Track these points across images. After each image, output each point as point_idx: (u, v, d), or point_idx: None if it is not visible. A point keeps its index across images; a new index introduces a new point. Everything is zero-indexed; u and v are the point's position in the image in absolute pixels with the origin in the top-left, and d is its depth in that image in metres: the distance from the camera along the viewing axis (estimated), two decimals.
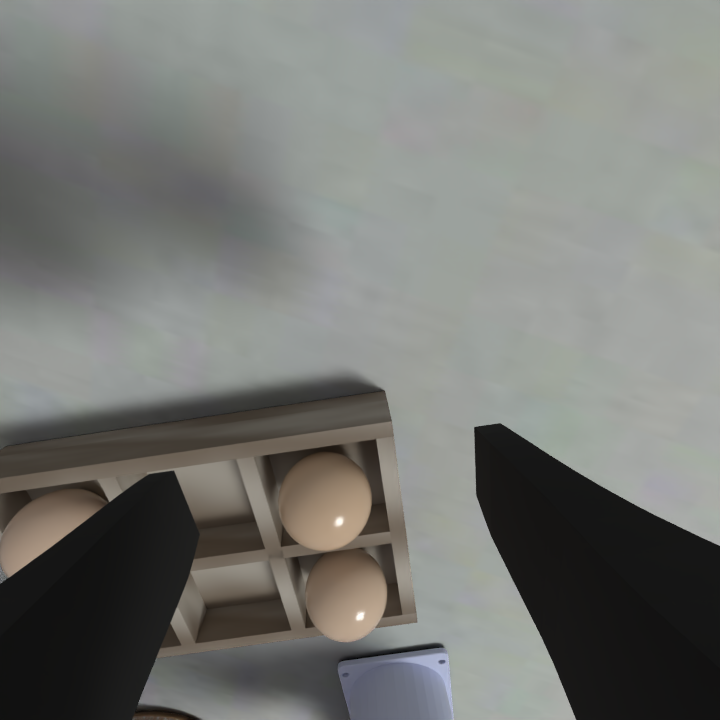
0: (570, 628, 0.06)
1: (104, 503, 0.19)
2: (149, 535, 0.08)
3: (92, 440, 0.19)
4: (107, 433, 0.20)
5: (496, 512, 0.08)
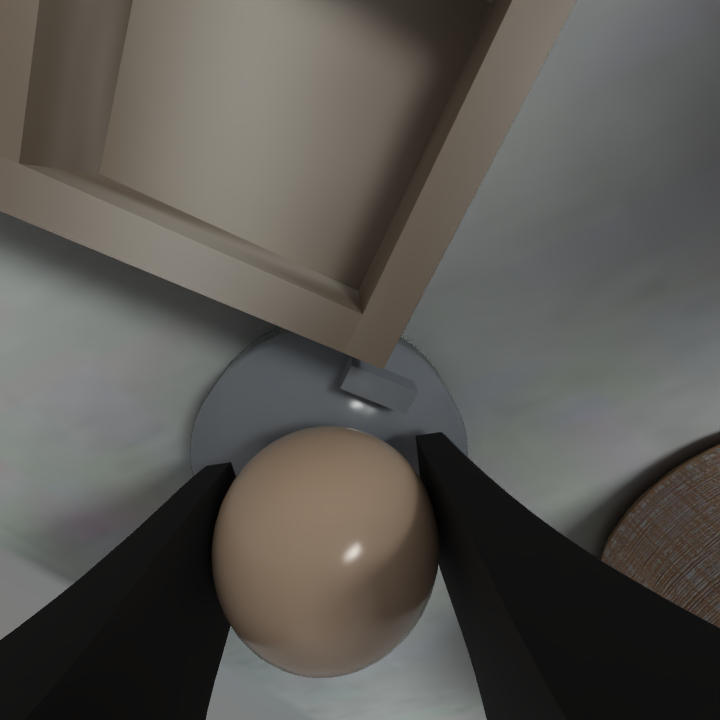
0: (480, 640, 0.06)
1: None
2: None
3: None
4: None
5: None
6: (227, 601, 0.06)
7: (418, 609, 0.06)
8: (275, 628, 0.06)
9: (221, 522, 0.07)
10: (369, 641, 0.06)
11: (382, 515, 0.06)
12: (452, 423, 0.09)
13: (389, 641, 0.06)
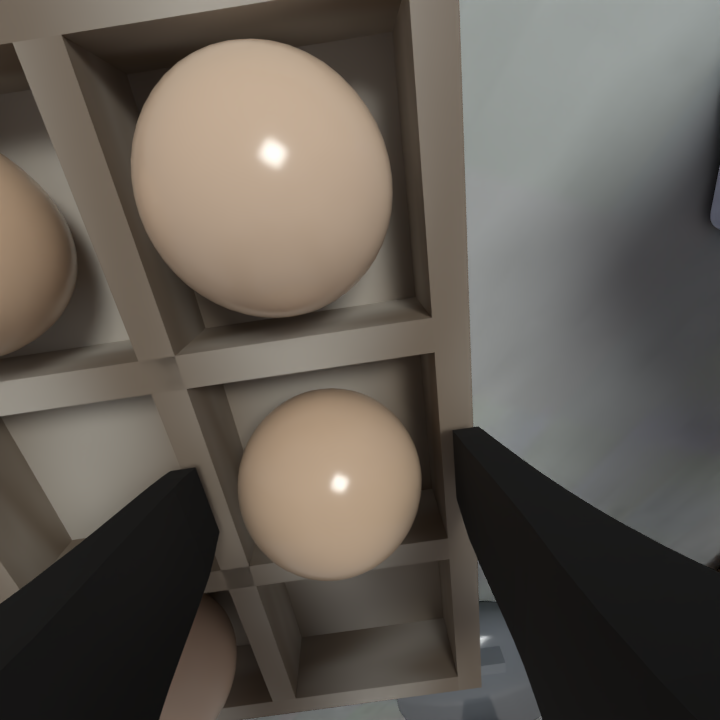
0: (536, 633, 0.06)
1: None
2: (174, 531, 0.08)
3: None
4: None
5: (472, 515, 0.08)
6: (252, 518, 0.08)
7: (403, 524, 0.08)
8: (291, 533, 0.07)
9: (245, 460, 0.08)
10: (363, 543, 0.07)
11: (372, 448, 0.08)
12: None
13: (380, 546, 0.08)
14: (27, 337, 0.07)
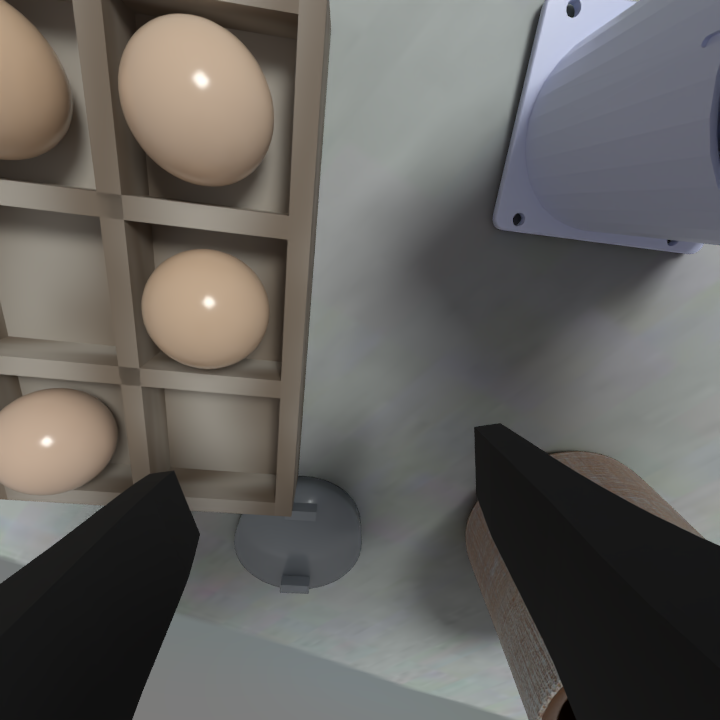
0: (570, 628, 0.06)
1: None
2: (149, 535, 0.08)
3: None
4: None
5: (496, 512, 0.08)
6: (147, 303, 0.12)
7: (241, 332, 0.13)
8: (168, 310, 0.12)
9: (152, 273, 0.13)
10: (212, 330, 0.12)
11: (232, 279, 0.13)
12: (343, 514, 0.20)
13: (222, 337, 0.13)
14: (28, 150, 0.12)
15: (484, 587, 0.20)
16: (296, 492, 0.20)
